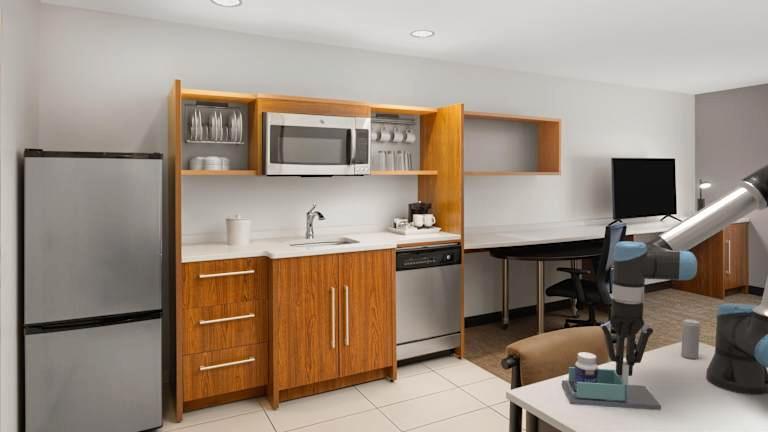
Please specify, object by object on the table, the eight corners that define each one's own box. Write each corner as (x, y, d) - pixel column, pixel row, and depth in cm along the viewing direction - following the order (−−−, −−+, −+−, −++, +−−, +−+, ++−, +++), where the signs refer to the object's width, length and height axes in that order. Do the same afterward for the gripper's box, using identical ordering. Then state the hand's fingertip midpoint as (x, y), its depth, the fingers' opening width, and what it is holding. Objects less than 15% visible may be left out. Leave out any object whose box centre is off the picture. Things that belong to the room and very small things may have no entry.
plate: (644, 390, 139) (644, 382, 139) (660, 410, 128) (661, 401, 127) (561, 384, 143) (561, 376, 143) (570, 403, 131) (570, 395, 131)
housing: (614, 383, 140) (614, 369, 140) (626, 400, 129) (627, 385, 129) (568, 380, 142) (569, 366, 141) (576, 397, 131) (577, 382, 131)
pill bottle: (586, 396, 132) (588, 360, 131) (569, 388, 137) (570, 353, 136) (601, 392, 135) (603, 356, 134) (584, 384, 140) (585, 349, 139)
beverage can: (684, 359, 163) (686, 323, 162) (678, 353, 167) (680, 318, 166) (700, 360, 162) (703, 323, 161) (694, 354, 166) (696, 319, 165)
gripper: (648, 298, 135) (644, 382, 137) (597, 295, 137) (594, 379, 139) (659, 305, 128) (654, 394, 130) (605, 302, 130) (601, 390, 132)
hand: (623, 386), depth 134 cm, fingers closed
